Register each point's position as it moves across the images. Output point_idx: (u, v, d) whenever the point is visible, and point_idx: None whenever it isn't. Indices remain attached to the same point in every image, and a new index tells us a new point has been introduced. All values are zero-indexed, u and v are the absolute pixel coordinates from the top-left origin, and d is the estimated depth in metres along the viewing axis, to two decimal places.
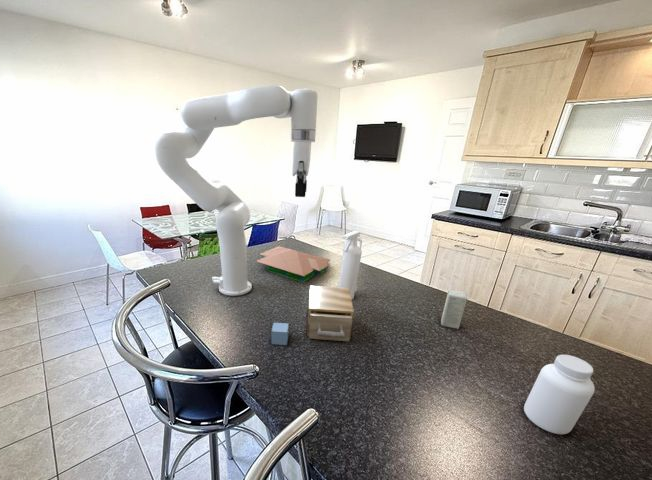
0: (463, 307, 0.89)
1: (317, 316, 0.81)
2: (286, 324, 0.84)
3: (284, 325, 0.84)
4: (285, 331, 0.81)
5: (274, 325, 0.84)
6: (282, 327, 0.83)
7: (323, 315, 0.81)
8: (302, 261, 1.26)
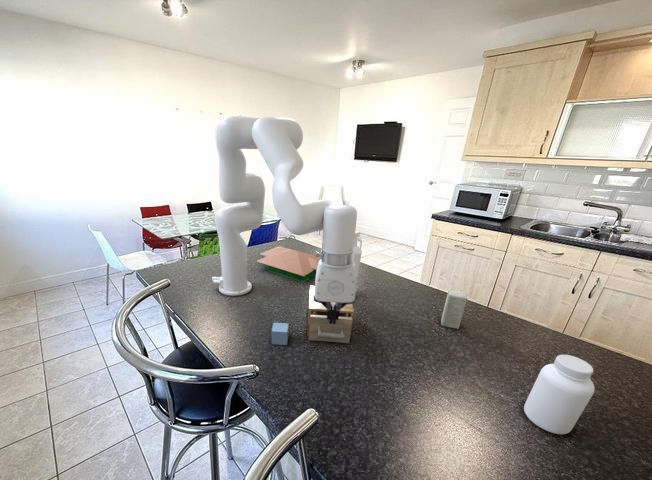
0: (463, 307, 0.89)
1: (317, 317, 0.81)
2: (286, 324, 0.84)
3: (284, 325, 0.84)
4: (285, 331, 0.81)
5: (274, 325, 0.84)
6: (282, 327, 0.83)
7: (323, 316, 0.81)
8: (302, 261, 1.26)
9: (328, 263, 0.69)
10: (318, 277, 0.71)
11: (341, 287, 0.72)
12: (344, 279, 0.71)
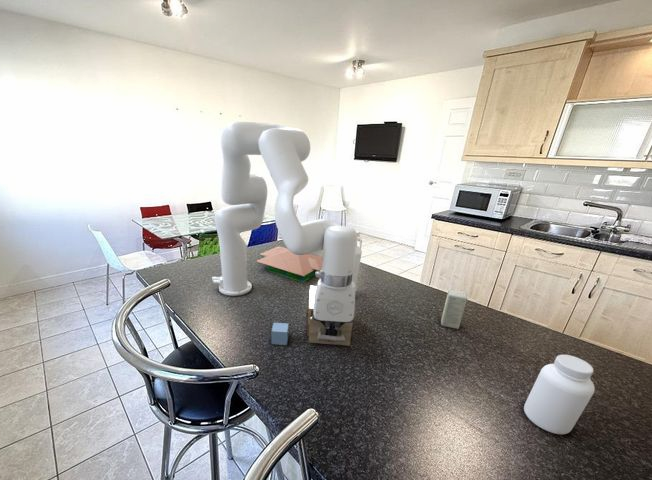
0: (463, 307, 0.89)
1: None
2: (286, 324, 0.84)
3: (284, 325, 0.84)
4: (285, 331, 0.81)
5: (274, 325, 0.84)
6: (282, 327, 0.83)
7: None
8: (302, 261, 1.26)
9: (328, 284, 0.70)
10: (317, 297, 0.72)
11: (340, 307, 0.72)
12: (343, 299, 0.71)
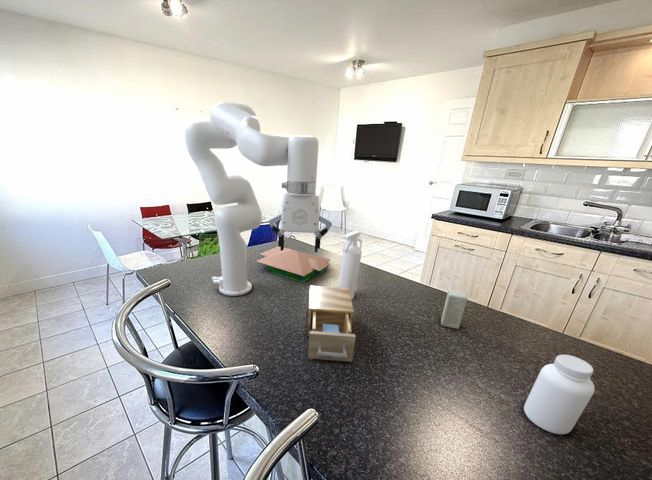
0: (463, 307, 0.89)
1: (317, 334, 0.73)
2: (336, 325, 0.81)
3: (335, 327, 0.80)
4: None
5: (324, 327, 0.80)
6: (332, 329, 0.79)
7: (324, 333, 0.74)
8: (302, 261, 1.26)
9: (292, 191, 0.74)
10: (283, 206, 0.77)
11: (305, 216, 0.77)
12: (307, 208, 0.76)
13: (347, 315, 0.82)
